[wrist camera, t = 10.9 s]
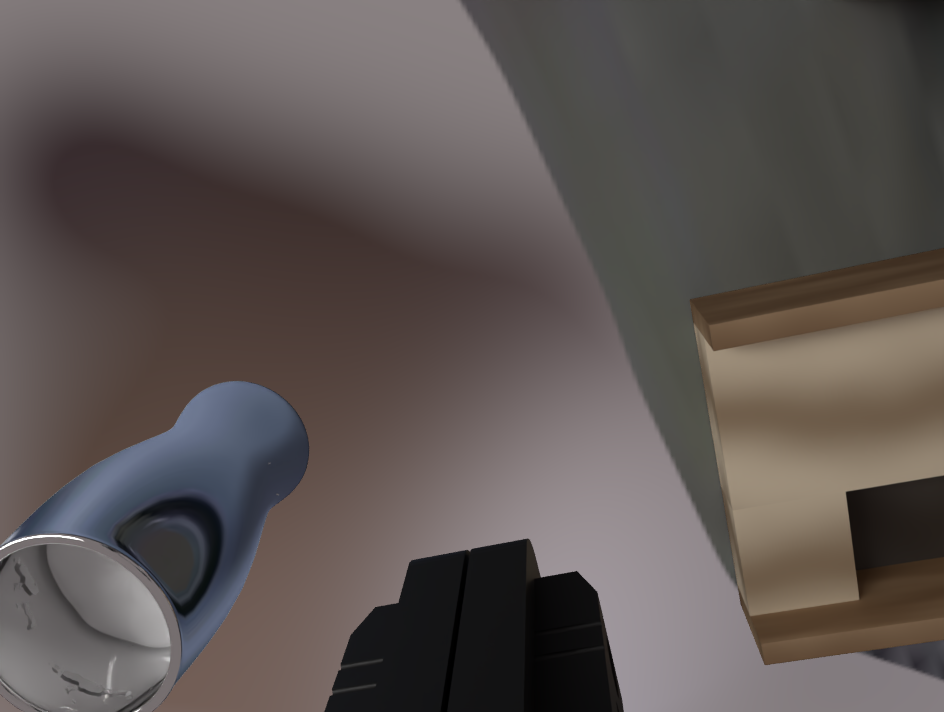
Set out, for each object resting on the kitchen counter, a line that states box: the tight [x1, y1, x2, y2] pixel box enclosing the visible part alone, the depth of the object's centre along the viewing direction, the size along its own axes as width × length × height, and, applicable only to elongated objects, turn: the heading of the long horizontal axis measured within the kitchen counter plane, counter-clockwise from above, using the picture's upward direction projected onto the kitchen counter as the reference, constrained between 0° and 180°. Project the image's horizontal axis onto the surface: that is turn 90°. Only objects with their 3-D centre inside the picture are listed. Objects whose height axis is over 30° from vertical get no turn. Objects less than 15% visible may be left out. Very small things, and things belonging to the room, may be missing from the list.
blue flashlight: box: [0, 381, 309, 712], centre depth 32 cm, size 7×7×15 cm
